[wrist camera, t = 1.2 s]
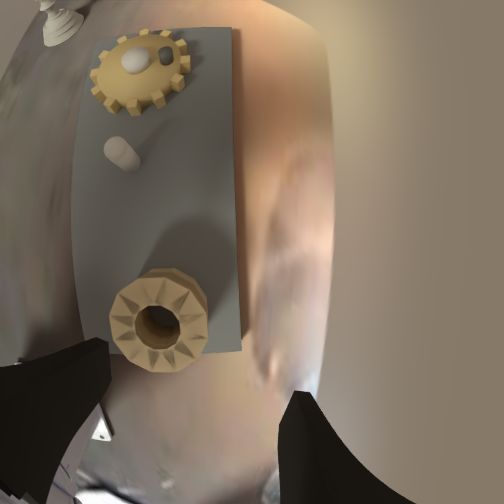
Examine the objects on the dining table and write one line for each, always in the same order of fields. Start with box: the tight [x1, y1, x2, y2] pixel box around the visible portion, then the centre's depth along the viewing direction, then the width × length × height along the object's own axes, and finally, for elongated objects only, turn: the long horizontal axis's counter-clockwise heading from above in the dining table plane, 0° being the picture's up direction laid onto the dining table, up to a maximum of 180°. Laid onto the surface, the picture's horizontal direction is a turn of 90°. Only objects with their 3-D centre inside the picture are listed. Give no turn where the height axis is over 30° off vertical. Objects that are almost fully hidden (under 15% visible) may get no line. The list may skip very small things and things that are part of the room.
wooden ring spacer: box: [109, 268, 208, 372], centre depth 16 cm, size 6×6×4 cm
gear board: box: [71, 27, 242, 354], centre depth 16 cm, size 12×26×6 cm, turn 2°
